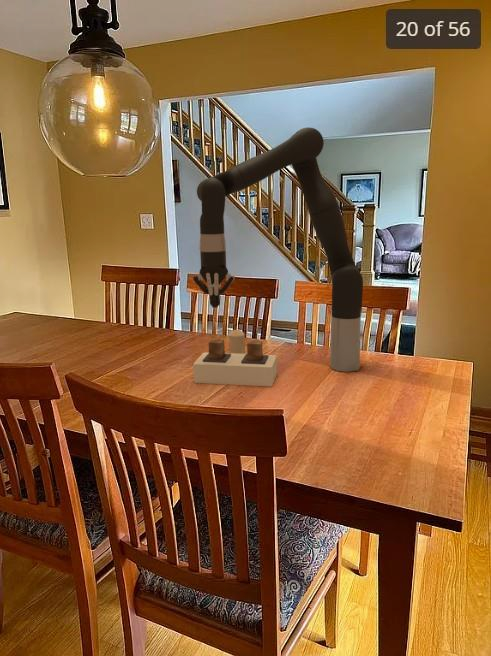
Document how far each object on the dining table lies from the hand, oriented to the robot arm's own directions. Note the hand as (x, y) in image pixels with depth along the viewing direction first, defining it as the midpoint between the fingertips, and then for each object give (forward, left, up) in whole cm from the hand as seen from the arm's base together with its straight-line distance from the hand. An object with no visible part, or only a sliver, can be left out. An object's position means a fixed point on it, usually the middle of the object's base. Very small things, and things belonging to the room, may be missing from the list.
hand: (215, 307), depth 149 cm
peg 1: (0, 0, -17) cm, 17 cm away
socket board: (-6, 0, -22) cm, 23 cm away
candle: (-2, -20, -23) cm, 30 cm away
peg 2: (-12, 0, -17) cm, 21 cm away
